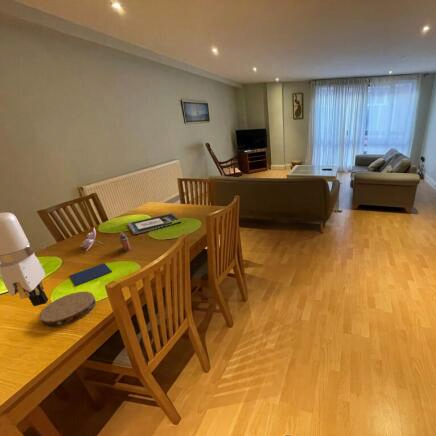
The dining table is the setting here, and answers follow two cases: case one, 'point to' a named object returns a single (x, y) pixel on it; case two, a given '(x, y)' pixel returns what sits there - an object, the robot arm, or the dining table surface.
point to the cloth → (90, 274)
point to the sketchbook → (151, 223)
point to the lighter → (125, 242)
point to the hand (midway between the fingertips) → (41, 303)
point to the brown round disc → (67, 309)
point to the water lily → (90, 239)
